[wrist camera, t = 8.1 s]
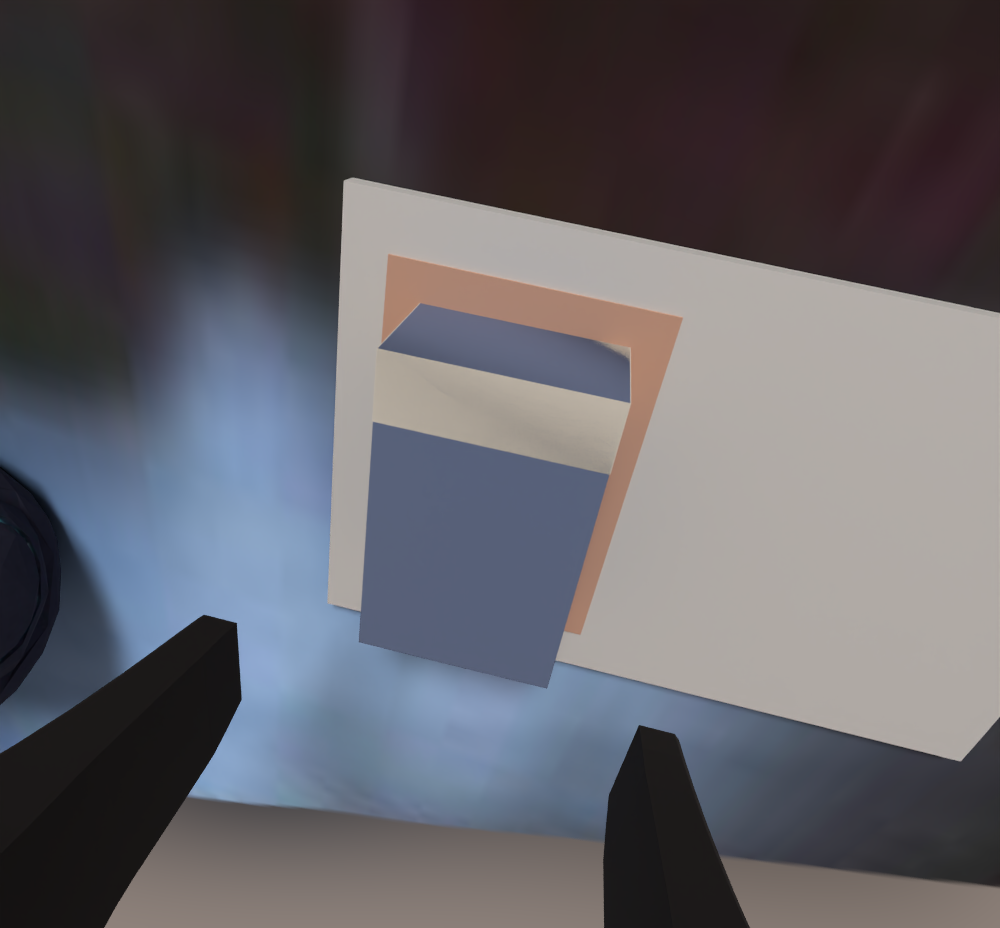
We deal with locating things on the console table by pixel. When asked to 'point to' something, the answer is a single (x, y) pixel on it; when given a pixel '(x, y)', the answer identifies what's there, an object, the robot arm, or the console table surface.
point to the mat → (730, 463)
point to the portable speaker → (25, 583)
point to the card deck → (485, 487)
